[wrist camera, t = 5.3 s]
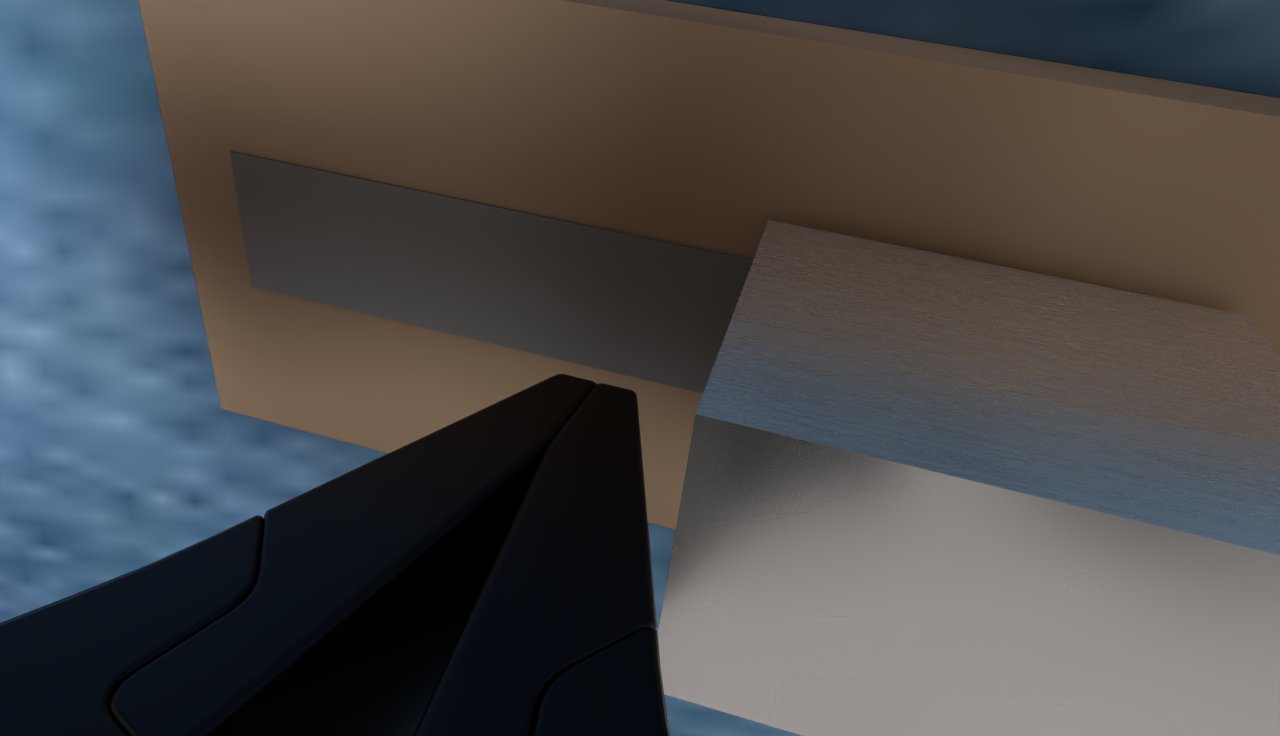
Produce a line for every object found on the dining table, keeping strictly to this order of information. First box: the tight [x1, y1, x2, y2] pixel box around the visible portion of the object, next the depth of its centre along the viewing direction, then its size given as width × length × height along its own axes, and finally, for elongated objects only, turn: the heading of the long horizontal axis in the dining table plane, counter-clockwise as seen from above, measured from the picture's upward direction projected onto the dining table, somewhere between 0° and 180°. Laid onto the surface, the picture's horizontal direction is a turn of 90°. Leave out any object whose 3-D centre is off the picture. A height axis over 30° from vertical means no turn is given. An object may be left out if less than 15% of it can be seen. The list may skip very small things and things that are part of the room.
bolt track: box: [138, 0, 1280, 530], centre depth 11 cm, size 7×17×1 cm, turn 84°
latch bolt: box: [658, 220, 1280, 736], centre depth 8 cm, size 3×5×4 cm, turn 84°
